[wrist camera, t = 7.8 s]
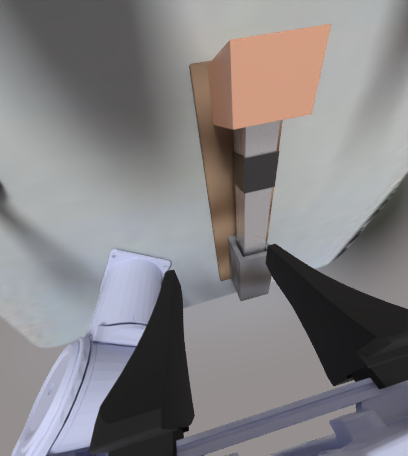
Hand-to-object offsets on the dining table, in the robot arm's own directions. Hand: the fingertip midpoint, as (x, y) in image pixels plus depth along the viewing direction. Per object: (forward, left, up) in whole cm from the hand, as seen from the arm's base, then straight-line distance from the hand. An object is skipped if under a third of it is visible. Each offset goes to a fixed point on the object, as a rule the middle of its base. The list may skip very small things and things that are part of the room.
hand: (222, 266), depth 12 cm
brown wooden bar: (+2, -5, -9) cm, 11 cm away
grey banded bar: (+4, -3, -8) cm, 9 cm away
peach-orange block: (+11, +2, -9) cm, 14 cm away
